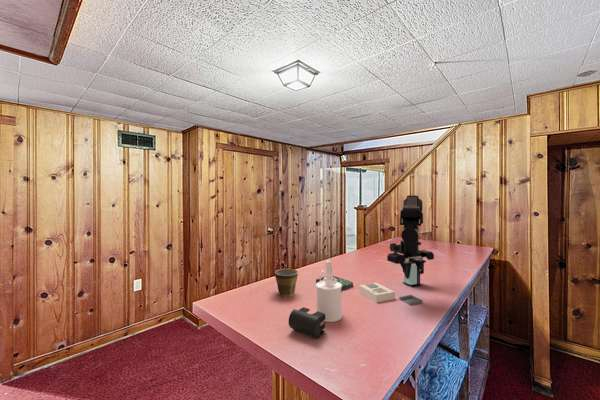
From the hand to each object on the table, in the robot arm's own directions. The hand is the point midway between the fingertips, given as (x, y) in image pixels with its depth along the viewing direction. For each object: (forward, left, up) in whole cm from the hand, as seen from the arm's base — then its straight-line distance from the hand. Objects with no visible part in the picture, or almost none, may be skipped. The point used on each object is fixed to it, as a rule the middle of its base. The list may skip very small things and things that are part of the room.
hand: (410, 277), depth 108 cm
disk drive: (+19, -29, -11) cm, 36 cm away
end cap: (+47, +6, -10) cm, 48 cm away
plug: (0, 0, -2) cm, 2 cm away
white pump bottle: (+35, -2, -10) cm, 36 cm away
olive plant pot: (+44, -28, -10) cm, 53 cm away
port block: (+9, -10, -10) cm, 17 cm away
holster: (0, 0, -10) cm, 10 cm away
